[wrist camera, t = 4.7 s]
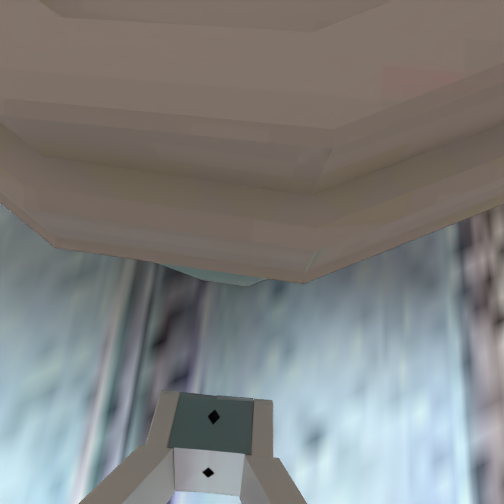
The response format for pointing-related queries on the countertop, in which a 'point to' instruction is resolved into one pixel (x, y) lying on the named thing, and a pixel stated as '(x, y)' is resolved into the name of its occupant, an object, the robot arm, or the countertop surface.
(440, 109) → the disposable coffee cup
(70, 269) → the countertop surface
